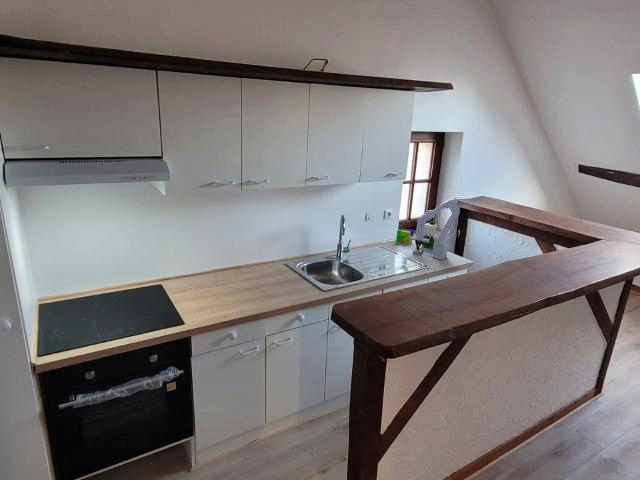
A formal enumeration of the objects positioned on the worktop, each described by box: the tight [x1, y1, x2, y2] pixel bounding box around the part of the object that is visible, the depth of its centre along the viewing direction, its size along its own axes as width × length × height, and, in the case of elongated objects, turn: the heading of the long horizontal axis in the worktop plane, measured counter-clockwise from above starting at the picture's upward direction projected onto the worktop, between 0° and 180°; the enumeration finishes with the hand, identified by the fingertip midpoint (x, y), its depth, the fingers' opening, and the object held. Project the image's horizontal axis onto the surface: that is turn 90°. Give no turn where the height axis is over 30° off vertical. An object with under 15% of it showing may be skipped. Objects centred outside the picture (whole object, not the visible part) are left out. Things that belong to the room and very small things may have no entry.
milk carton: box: [421, 220, 438, 249], centre depth 320 cm, size 9×9×20 cm
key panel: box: [412, 245, 425, 256], centre depth 310 cm, size 17×6×2 cm, turn 161°
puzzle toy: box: [395, 227, 415, 245], centre depth 330 cm, size 10×10×10 cm
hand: (417, 250), depth 305 cm, fingers closed, pressing on sage key
